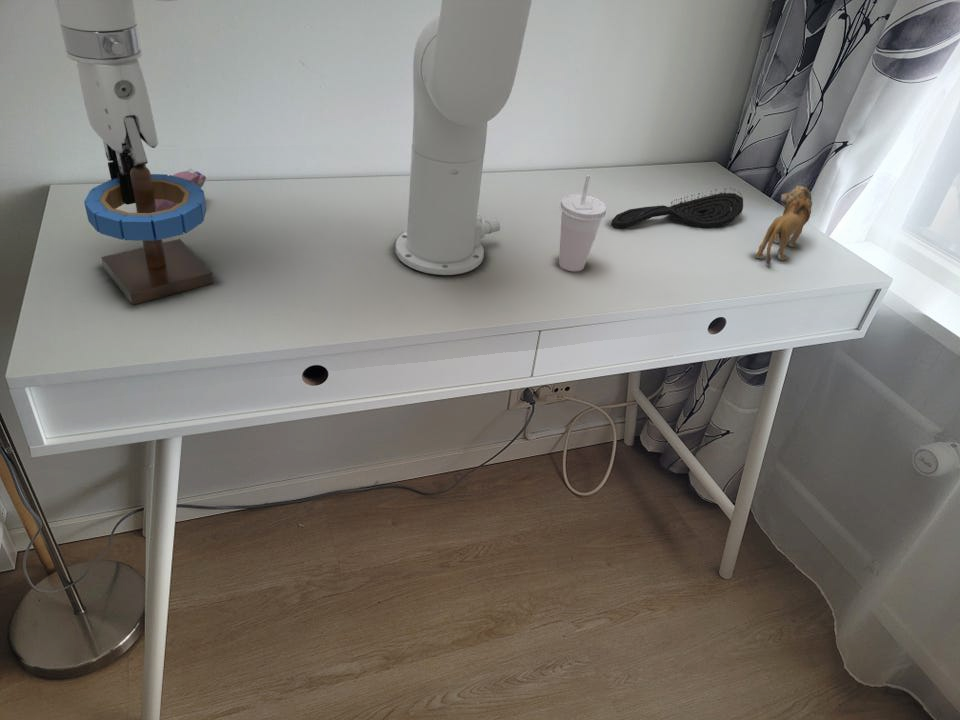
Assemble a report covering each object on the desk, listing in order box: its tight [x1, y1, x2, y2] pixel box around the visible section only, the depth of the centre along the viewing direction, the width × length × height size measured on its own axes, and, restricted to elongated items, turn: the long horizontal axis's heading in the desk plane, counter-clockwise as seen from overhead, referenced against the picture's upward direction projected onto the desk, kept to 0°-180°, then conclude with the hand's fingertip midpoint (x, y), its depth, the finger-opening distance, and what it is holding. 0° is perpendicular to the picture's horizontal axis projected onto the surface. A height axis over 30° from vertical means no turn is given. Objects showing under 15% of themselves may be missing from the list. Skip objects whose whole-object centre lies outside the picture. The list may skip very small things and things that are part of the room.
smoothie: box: [558, 174, 607, 272], centre depth 104 cm, size 6×6×14 cm
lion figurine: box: [754, 185, 813, 265], centre depth 117 cm, size 15×5×9 cm, turn 151°
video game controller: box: [155, 167, 207, 211], centre depth 107 cm, size 10×5×7 cm, turn 168°
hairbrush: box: [610, 187, 744, 229], centre depth 123 cm, size 8×4×25 cm
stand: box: [101, 165, 214, 306], centre depth 90 cm, size 10×10×15 cm
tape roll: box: [83, 173, 207, 242], centre depth 89 cm, size 13×13×2 cm
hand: (132, 195), depth 92 cm, fingers closed on tape roll, 2 cm apart
